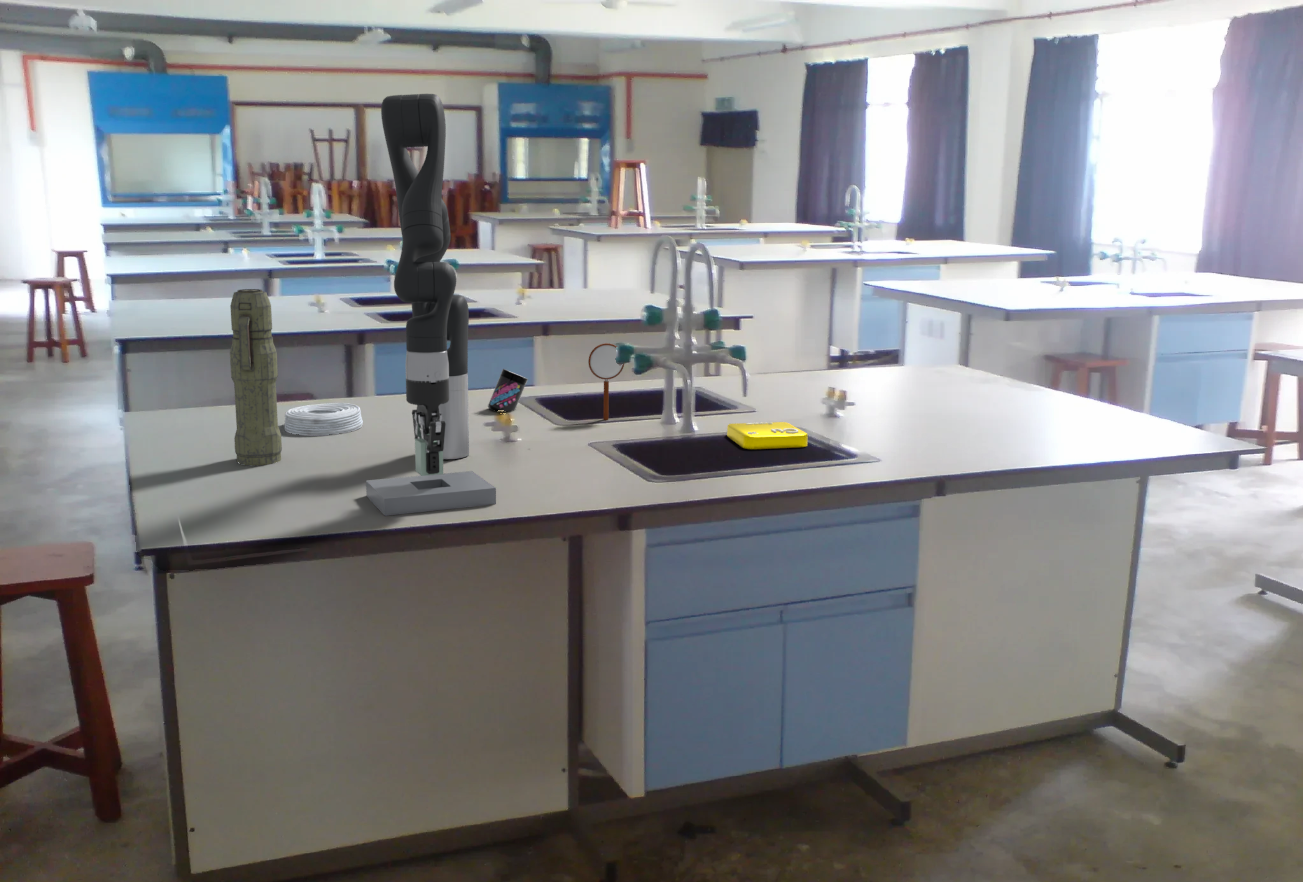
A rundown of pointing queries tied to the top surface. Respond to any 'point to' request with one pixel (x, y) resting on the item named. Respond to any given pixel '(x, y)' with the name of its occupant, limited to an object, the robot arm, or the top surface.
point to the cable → (323, 419)
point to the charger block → (421, 458)
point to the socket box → (430, 492)
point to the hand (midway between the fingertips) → (429, 470)
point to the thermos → (254, 379)
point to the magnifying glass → (604, 368)
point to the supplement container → (507, 391)
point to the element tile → (767, 435)
